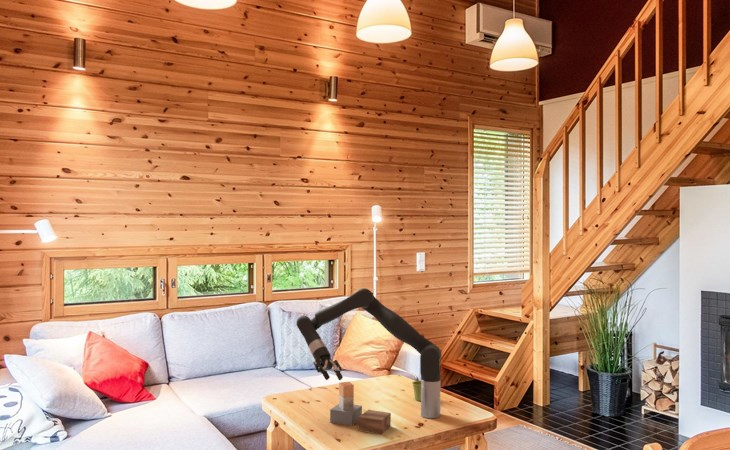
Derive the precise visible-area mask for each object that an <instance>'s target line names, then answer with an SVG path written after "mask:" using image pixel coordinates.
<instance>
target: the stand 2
mask: <svg viewBox="0 0 730 450" xmlns="http://www.w3.org/2000/svg"><path fill="white" fill-rule="evenodd" d="M391 417H392V416H391V412H385V411H381V410H379V411H378V410H374V409H373V410H372V409H367V410H366V411H365V412H362V415H360V416H359V417H358V422H357V423H358V427H357V428H358V431H359V432H360V431H361V432H365V433H372V434H376V435H377V434H379V435H382V434H383V433H385V432H386V431H387V430H389V428H391V427H392V424H391V423H392V422H391V421H392V420H391V419H392V418H391Z"/></svg>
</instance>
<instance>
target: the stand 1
mask: <svg viewBox="0 0 730 450" xmlns="http://www.w3.org/2000/svg"><path fill="white" fill-rule="evenodd" d="M329 412H330V413H329V421H330V423H331V424H332V423H333V424H337V425H344V426H349V427H352V426H354V425H355V424H356V423H358V417H359V416H360V415H362V414H363V405H359V404H354V409H349V410H343V409H342V408H340V407H339V403H338V404H337V405H335V406H333V407H332V408H330V409H329Z"/></svg>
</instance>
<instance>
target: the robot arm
mask: <svg viewBox="0 0 730 450" xmlns="http://www.w3.org/2000/svg"><path fill="white" fill-rule="evenodd" d="M360 308H361V309H362V310H364V311H365V312H367V313H368V314H370V315H371V316H372V317H374V318H375V320H377V321H378V323H380V324H381V326H382V327H383V329H385V330H386V331H388V333H390V334H391V335H392V337H395V338H396V339H397V340H399V341H401V342H403V343H405V344H407V345H409V346H410V347H412V348H413V349H414V350H416V352H418V354H420V356H419V365H420V366H419V367H420V368H419V369H420V372H419V373H420V381H421V401H420V416H421V417H422V418H425V419H439V418H440V417H441V376H442V375H441V372H440V371H441V369H440V368H441V364H440V363H441V358H442V351H441V349H440V347H439V346H437V345H436V344H435V343H433V342H432V341H430V340H429V339H427V338H426V337H424V336H423V335H422V334H420V333H419V332H418V330H416V329H415V327H413V326H412V325H411V324H410V323H409V322H407V320H405V318H403V317H401V316H400V315H399V314H398V313H396V312H395V311H393V310H392V309H390V308H389V307H387V306H385V305H384V304H382V302H380V300H379V299H377V298H376V297H375V295H373V292H372V291H371V290H370V289H368V288H364V287H363V288H360V289H358V290H357V291H356V292H354V293H353V294H351V295H349V296H348V297H345V298H344V299H342V300H340V301H339V302H336V303H334V304H331V305H329V306H326V307H325V308H322V309H320V310H318V311H316V312H315V313H314V317H312V318H310V317H308V316H307V315H300V316H299V317H298V318H297V320H296V327H297V329H298V331H299V332H300V334H301V335H302V337H303V339H304V341H305V343H306V345H307V346H308V348H309V351H310V353H311V355H312V357H313V359H314V361H313V366H314V368H315V370H316V372H317V373H320V374H321V375H322V376H323V377H324V379H325V380H326V381H329V379H330V378H331V377H330V375H329V373H328V371H327V370H329V371H331V372H332V373H334V374H335V375H336V378H337V379H338V380H339V381H341V380H342V379H343V374H342V373H341V372H342V371H343V368H342V367H341V365H340V363H339V361H338V360H337V359H335V360H332V359H331V357H332V355H331V353H330V351H329V349H328V348H327V346H326V344H325V342H324V341H323V339H322V338H321V336H320V334H319V333H318V332H317V331H318V329H320V328H321V327H322V326H324V325H326V324H328V323H331V322H333V321H335V320H336V319H338V318H340V317H341V316H344V315H345V314H347V313H349V312H351V311H353V310H356V309H360Z"/></svg>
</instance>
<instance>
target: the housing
mask: <svg viewBox="0 0 730 450" xmlns="http://www.w3.org/2000/svg"><path fill="white" fill-rule="evenodd" d="M354 389H355V387H354V384H353V383H352V382H350V381H343V382H342V381H341V382H339V383H338V404H339V407H340V408H342V409H343V410H349V409H354V405H355V403H354V402H355V401H354V400H355V396H354V392H355V390H354Z"/></svg>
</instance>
